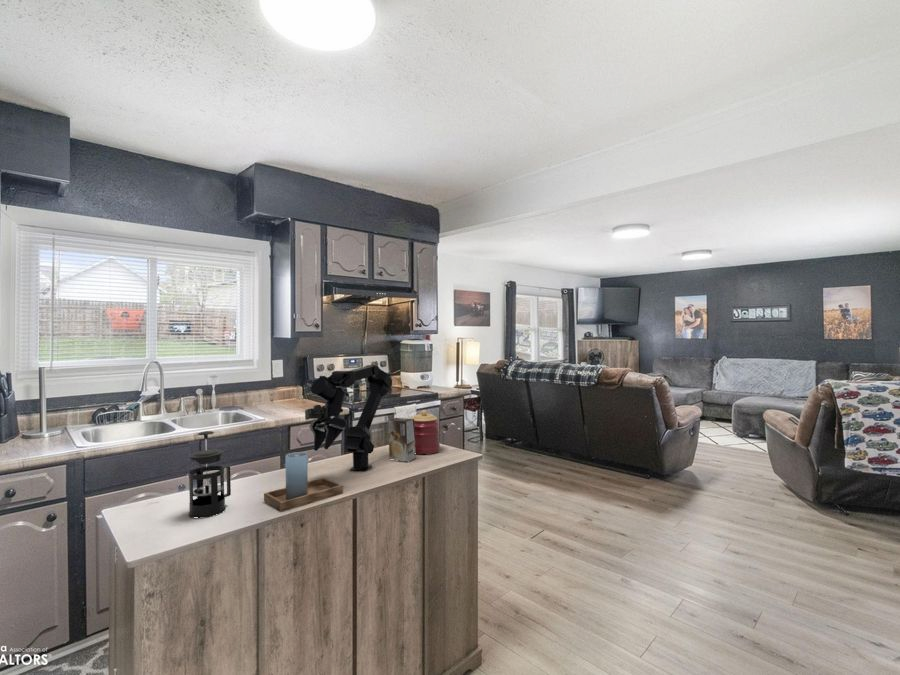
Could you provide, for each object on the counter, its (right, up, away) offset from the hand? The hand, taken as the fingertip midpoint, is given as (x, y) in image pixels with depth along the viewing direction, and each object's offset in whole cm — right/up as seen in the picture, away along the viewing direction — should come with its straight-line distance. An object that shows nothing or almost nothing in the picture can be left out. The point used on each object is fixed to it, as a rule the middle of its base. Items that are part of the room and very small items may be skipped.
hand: (320, 449), depth 148 cm
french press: (-26, -13, -19) cm, 35 cm away
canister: (+32, -12, +43) cm, 55 cm away
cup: (-4, -12, -11) cm, 17 cm away
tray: (-2, -12, -9) cm, 16 cm away
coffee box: (+24, -12, +31) cm, 41 cm away
